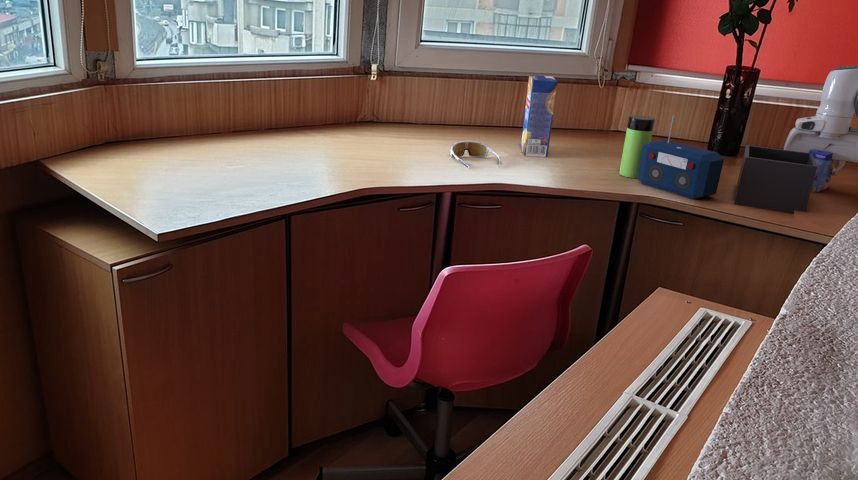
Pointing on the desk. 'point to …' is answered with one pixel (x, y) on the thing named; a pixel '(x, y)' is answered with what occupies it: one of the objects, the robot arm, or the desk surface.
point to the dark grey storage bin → (775, 179)
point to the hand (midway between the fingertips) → (817, 172)
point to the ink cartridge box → (822, 169)
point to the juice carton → (538, 115)
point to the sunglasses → (470, 150)
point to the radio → (680, 168)
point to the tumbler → (635, 143)
